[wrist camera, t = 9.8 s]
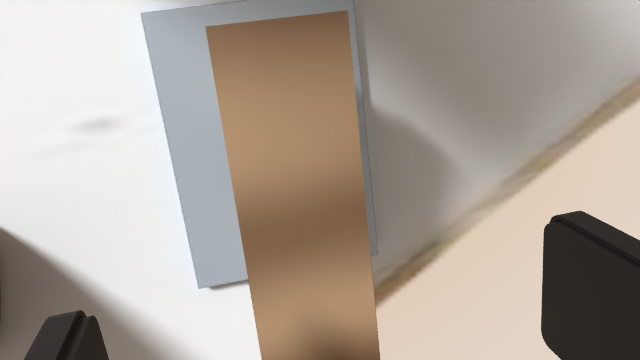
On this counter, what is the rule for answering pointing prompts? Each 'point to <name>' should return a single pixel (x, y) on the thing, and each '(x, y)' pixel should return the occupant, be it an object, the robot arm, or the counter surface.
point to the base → (219, 124)
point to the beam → (298, 183)
